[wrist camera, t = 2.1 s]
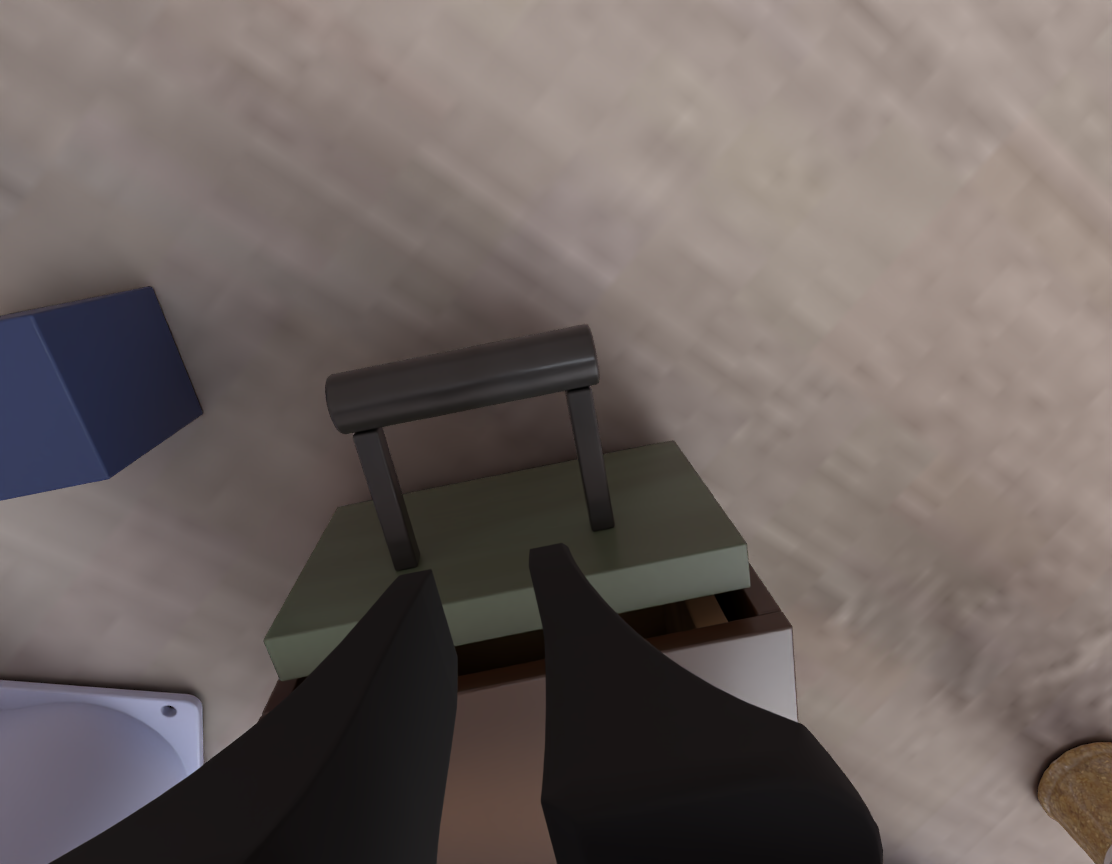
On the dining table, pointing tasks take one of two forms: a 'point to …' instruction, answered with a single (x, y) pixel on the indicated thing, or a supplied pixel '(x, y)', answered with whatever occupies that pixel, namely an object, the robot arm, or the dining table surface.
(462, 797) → the cabinet
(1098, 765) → the sprinkles bottle
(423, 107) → the dining table surface
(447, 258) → the dining table surface
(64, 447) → the box
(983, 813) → the dining table surface
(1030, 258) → the dining table surface
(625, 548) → the drawer
